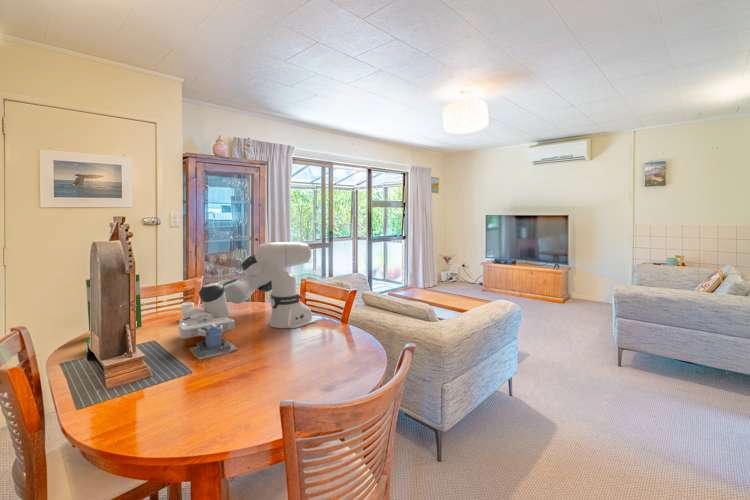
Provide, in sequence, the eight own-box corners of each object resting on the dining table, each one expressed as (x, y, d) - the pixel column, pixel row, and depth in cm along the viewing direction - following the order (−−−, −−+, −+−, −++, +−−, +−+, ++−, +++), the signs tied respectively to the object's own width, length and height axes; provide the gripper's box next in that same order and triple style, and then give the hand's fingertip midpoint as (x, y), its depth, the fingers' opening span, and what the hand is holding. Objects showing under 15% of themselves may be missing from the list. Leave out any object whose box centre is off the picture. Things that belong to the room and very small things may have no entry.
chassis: (226, 342, 151) (226, 336, 151) (237, 350, 142) (237, 344, 142) (189, 350, 142) (189, 343, 141) (198, 359, 133) (198, 353, 132)
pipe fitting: (188, 322, 177) (188, 305, 176) (177, 320, 179) (177, 304, 179) (199, 318, 183) (198, 302, 182) (188, 316, 185) (187, 301, 184)
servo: (215, 342, 146) (214, 320, 145) (222, 348, 140) (222, 325, 139) (204, 345, 144) (203, 322, 143) (211, 351, 137) (210, 327, 136)
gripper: (228, 326, 158) (241, 335, 148) (175, 336, 145) (185, 346, 134) (228, 312, 157) (240, 319, 147) (174, 320, 144) (184, 329, 134)
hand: (213, 332), depth 140 cm, fingers open, 4 cm apart
